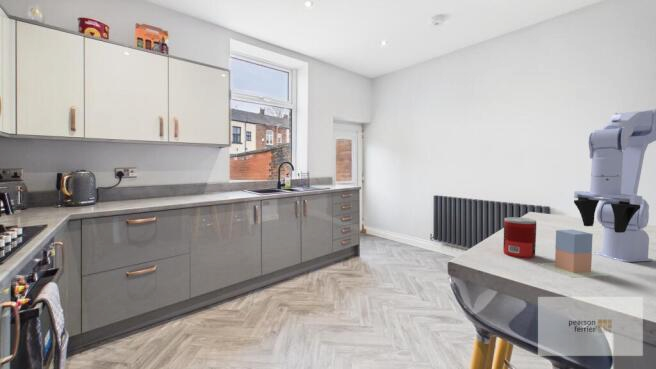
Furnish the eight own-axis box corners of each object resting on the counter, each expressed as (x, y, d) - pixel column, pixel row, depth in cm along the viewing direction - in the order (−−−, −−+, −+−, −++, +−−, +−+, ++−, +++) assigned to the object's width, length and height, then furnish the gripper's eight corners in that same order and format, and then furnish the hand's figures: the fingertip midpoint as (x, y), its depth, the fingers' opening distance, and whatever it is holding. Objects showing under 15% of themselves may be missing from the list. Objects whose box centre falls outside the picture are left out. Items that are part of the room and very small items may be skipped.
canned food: (540, 260, 82) (541, 222, 81) (509, 258, 83) (510, 221, 83) (527, 252, 89) (528, 217, 89) (499, 251, 91) (500, 216, 90)
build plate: (572, 262, 80) (572, 261, 80) (612, 276, 70) (612, 275, 70) (536, 264, 78) (536, 263, 78) (572, 278, 68) (572, 277, 68)
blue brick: (572, 247, 77) (573, 229, 76) (591, 252, 72) (592, 233, 71) (555, 248, 76) (556, 230, 76) (573, 253, 71) (574, 234, 71)
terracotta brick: (571, 265, 77) (572, 247, 77) (590, 271, 72) (591, 252, 72) (554, 266, 76) (555, 248, 76) (573, 272, 71) (573, 253, 71)
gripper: (565, 175, 80) (563, 224, 81) (624, 177, 66) (621, 236, 67) (587, 175, 81) (585, 223, 82) (651, 177, 67) (647, 235, 68)
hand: (603, 229), depth 74 cm, fingers open, 7 cm apart
